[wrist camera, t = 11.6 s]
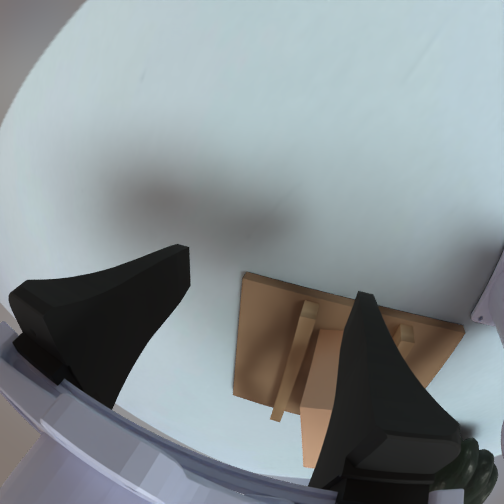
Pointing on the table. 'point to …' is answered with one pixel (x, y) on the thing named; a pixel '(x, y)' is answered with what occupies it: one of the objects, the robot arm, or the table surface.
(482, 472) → the squash
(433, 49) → the table surface
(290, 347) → the ribbed wooden panel
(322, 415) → the clay block
